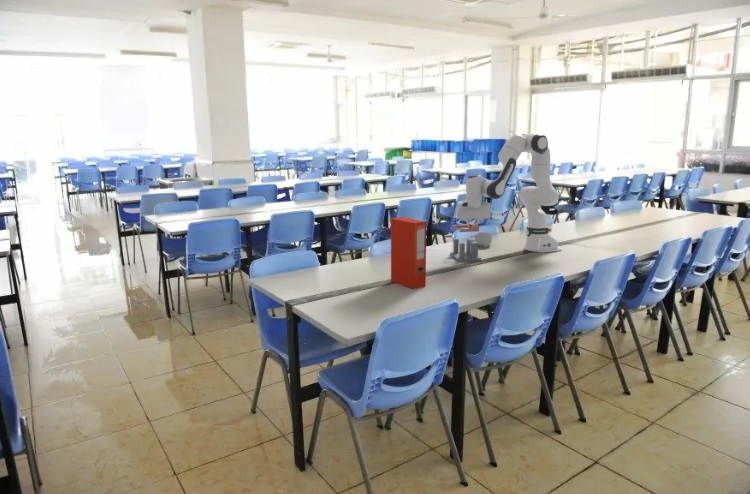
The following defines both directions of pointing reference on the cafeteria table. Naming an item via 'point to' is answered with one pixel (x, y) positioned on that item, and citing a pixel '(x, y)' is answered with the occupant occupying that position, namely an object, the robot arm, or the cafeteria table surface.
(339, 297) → the cafeteria table surface
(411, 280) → the file binder
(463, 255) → the display stand
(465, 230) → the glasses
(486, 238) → the teacup
